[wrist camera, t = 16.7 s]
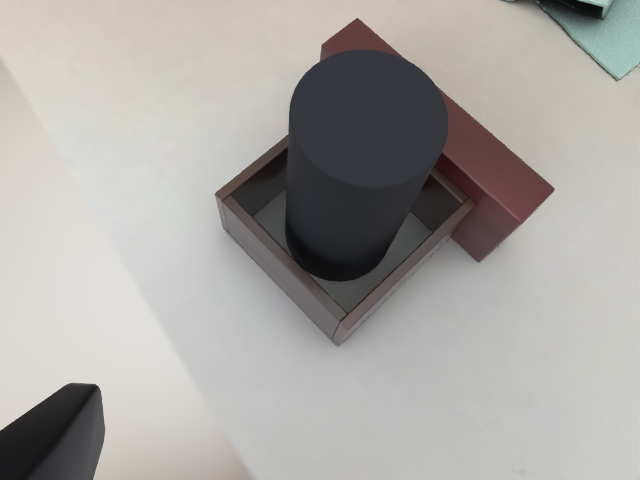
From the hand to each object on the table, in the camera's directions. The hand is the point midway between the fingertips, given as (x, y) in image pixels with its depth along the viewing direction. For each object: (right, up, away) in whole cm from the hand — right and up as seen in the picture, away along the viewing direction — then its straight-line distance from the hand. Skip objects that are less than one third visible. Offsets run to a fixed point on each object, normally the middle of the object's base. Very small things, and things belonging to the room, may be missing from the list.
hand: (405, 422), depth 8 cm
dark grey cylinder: (-1, +3, +16) cm, 16 cm away
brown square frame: (0, +4, +16) cm, 16 cm away
